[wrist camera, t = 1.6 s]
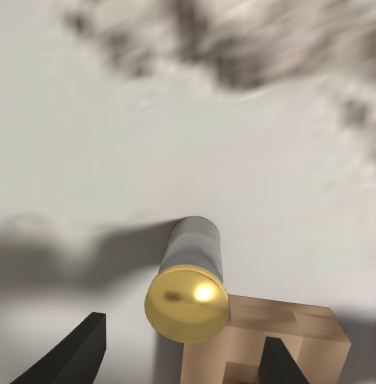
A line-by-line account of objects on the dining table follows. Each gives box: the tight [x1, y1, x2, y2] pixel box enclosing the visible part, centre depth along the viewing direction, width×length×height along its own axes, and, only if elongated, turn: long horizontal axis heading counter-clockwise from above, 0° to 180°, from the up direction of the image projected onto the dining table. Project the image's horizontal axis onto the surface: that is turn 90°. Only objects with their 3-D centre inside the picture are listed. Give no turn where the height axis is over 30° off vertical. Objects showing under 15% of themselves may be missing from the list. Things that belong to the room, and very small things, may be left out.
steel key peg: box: [145, 216, 229, 343], centre depth 17 cm, size 4×4×8 cm
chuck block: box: [180, 295, 352, 384], centre depth 22 cm, size 12×12×4 cm
